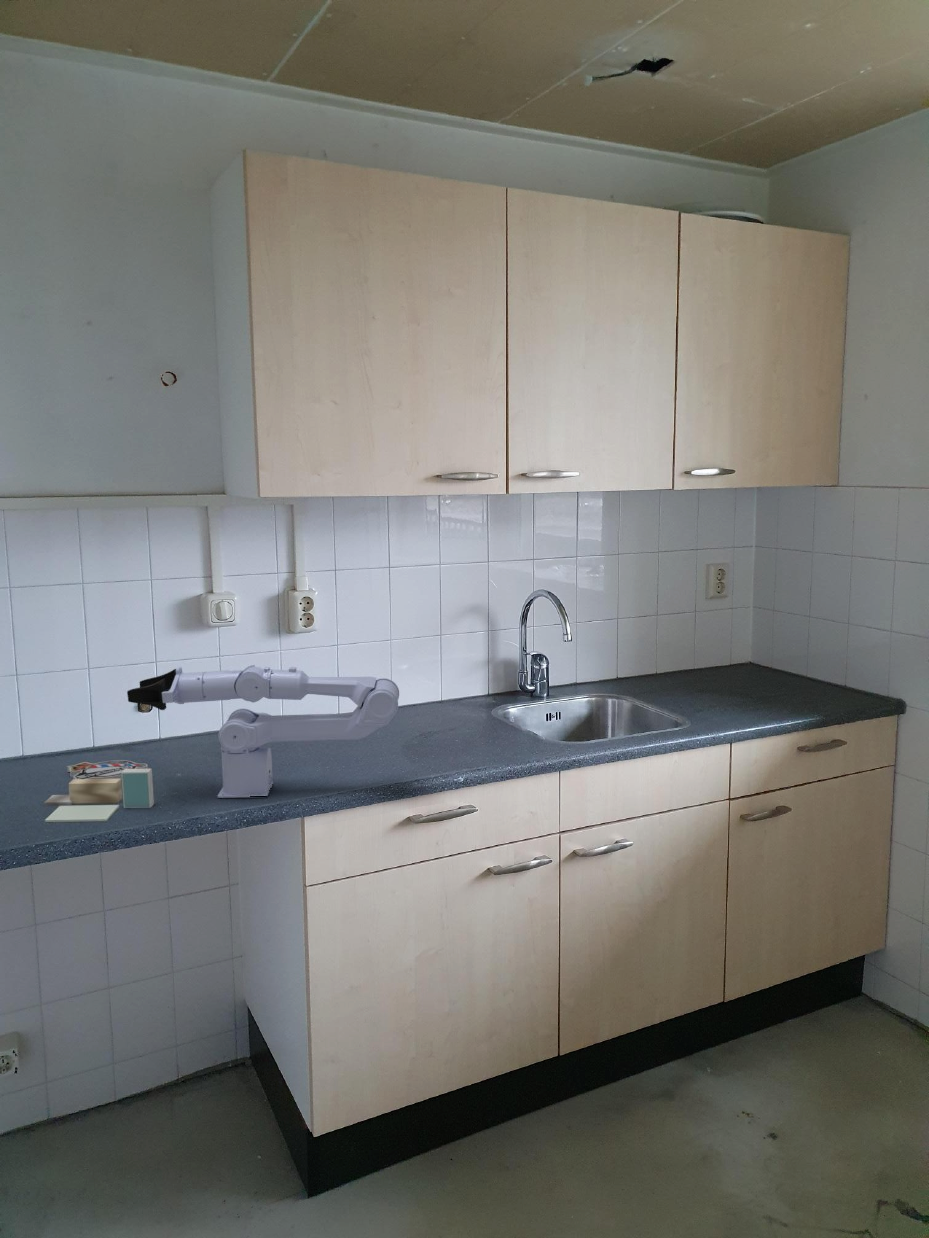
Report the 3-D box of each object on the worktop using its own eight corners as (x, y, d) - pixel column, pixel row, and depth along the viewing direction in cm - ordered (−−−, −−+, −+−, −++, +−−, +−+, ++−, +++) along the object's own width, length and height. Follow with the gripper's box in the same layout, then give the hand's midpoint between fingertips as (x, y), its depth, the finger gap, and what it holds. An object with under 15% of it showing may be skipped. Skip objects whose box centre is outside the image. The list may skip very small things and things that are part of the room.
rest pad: (119, 806, 175) (119, 804, 175) (106, 821, 168) (106, 819, 168) (60, 807, 175) (59, 805, 175) (44, 822, 168) (44, 820, 168)
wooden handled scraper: (123, 796, 181) (122, 777, 180) (116, 804, 177) (115, 784, 176) (52, 797, 180) (51, 778, 180) (44, 805, 176) (42, 785, 176)
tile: (153, 803, 177) (151, 768, 176) (150, 807, 175) (148, 772, 174) (127, 804, 177) (124, 768, 176) (123, 808, 175) (121, 772, 174)
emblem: (151, 770, 192) (72, 782, 185) (151, 778, 192) (73, 790, 185) (140, 753, 203) (66, 764, 196) (141, 761, 203) (66, 772, 196)
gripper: (211, 658, 186) (143, 662, 186) (194, 674, 172) (119, 679, 171) (215, 692, 187) (147, 697, 187) (198, 711, 173) (124, 716, 173)
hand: (134, 691), depth 179 cm, fingers open, 7 cm apart
